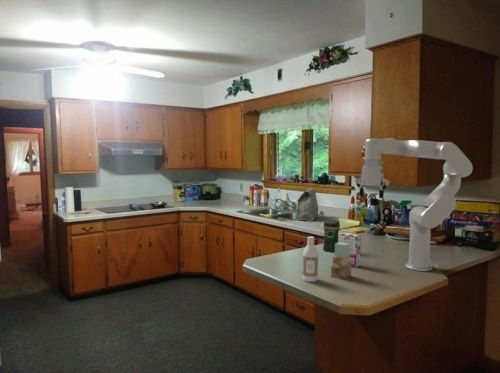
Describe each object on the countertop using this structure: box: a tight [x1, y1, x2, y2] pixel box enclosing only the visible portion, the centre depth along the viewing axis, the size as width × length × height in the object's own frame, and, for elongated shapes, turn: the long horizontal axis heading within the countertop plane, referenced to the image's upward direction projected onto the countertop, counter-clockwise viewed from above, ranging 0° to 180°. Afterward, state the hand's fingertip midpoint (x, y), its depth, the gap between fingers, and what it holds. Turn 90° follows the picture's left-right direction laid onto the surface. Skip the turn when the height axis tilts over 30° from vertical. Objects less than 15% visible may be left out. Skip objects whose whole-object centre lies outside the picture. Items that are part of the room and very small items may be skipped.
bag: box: [296, 187, 319, 222], centre depth 328 cm, size 22×16×27 cm
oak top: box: [332, 255, 350, 269], centre depth 174 cm, size 6×6×5 cm
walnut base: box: [330, 265, 352, 281], centre depth 175 cm, size 7×7×5 cm
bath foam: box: [301, 236, 319, 283], centre depth 169 cm, size 7×7×20 cm
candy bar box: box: [338, 231, 362, 268], centre depth 193 cm, size 11×5×16 cm, turn 44°
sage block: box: [334, 242, 349, 258], centre depth 174 cm, size 5×5×6 cm
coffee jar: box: [322, 219, 341, 253], centre depth 221 cm, size 10×8×19 cm
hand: (371, 197), depth 186 cm, fingers open, 9 cm apart
